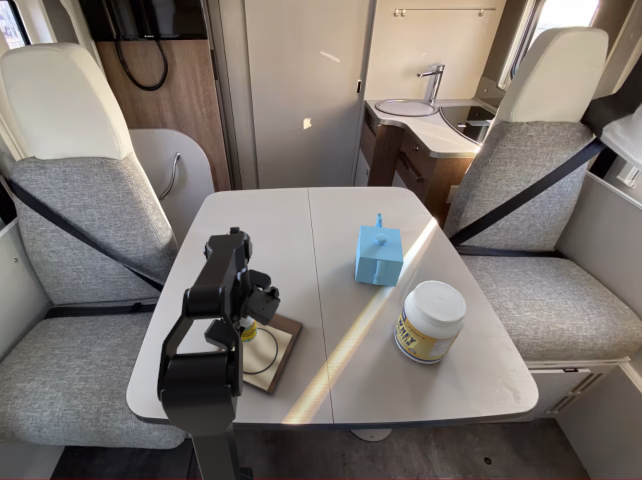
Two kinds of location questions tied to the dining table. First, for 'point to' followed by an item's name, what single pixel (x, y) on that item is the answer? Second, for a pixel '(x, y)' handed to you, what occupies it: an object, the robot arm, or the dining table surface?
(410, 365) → the dining table surface
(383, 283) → the teapot
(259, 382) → the drawing board
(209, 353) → the robot arm
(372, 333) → the dining table surface
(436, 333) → the supplement tub
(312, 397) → the dining table surface
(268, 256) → the dining table surface
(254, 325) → the supplement bottle
